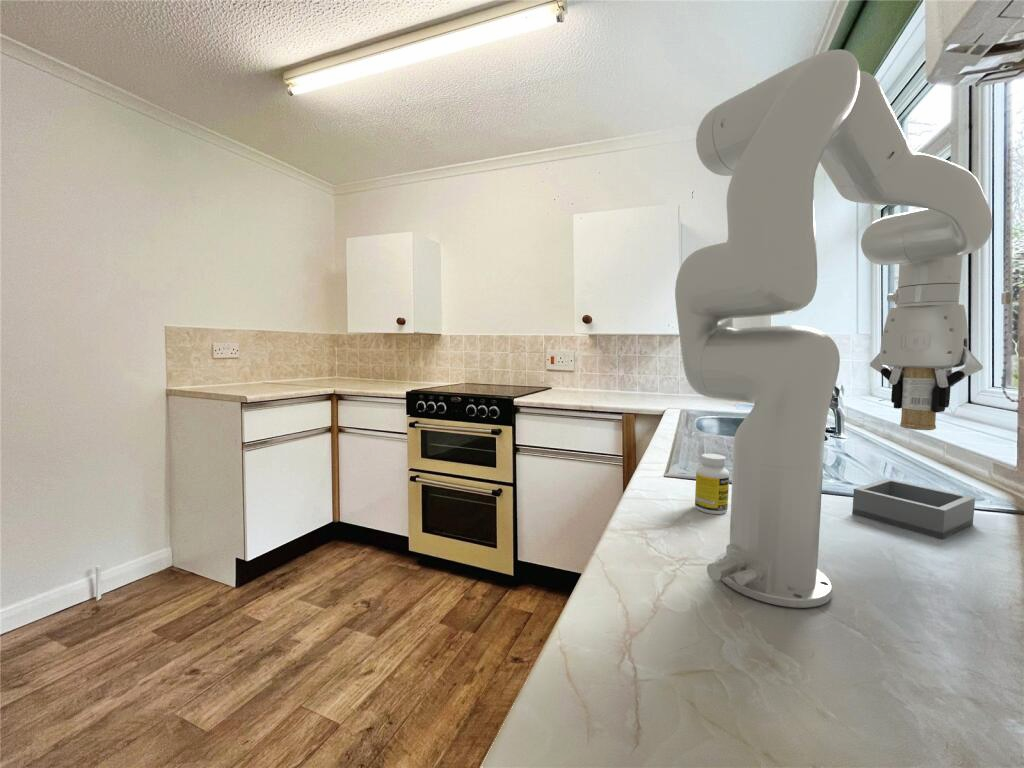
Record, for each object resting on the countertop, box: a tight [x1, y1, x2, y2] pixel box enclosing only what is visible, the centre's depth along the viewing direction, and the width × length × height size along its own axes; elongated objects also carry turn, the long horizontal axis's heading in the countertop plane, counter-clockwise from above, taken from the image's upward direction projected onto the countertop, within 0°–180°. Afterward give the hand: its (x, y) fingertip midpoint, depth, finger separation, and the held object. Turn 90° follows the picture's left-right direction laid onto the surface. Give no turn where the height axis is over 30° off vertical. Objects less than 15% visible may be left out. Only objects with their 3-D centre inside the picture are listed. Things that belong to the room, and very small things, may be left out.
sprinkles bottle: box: [899, 367, 937, 431], centre depth 75 cm, size 5×5×14 cm
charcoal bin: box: [851, 478, 976, 540], centre depth 77 cm, size 12×12×4 cm
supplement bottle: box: [694, 453, 730, 515], centre depth 81 cm, size 5×5×10 cm
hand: (918, 408), depth 75 cm, fingers closed on sprinkles bottle, 4 cm apart
